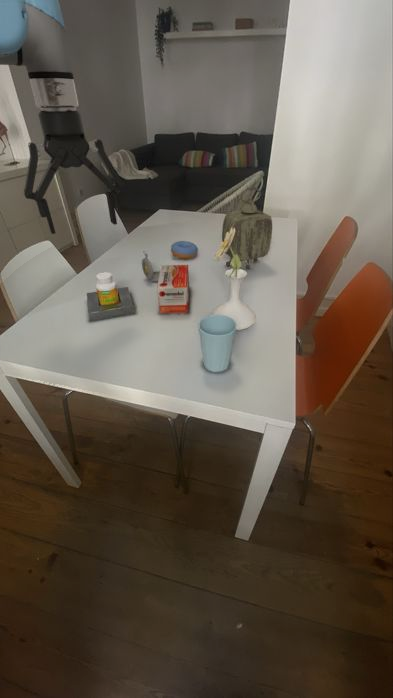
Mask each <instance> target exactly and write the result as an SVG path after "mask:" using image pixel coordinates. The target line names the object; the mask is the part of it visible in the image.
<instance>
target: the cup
mask: <svg viewBox="0 0 393 698" xmlns="http://www.w3.org/2000/svg"><path fill="white" fill-rule="evenodd" d="M236 327H237V324H236V322H235V321H234V320H233V319H232V318H230V317H228V316H225V315H212V314H209V315H207V316H204V317H203V318H201V319H200V320H199V321H198V324H197V328H198V334H199V340H200V348H201V354H202V355H201V356H202V361H203V366H204V368H205V369H206V370H207V371H210V372H212V373H213V372H214V373H220V372H224V371H226V370H227V369H228V367H229V365H230V360H231V356H232V352H233V351H232V350H233V347H234V341H235V336H236V332H237V331H236Z"/></svg>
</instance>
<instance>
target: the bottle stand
mask: <svg viewBox="0 0 393 698" xmlns="http://www.w3.org/2000/svg"><path fill="white" fill-rule="evenodd" d="M117 291H118V296H119V302H120V303H114V304H108V305H102V306H100V302H99V297H98V293H97V291H89V292H86V299H87V314H88V317H89V321H90V322H93V321H101V320H105V319H111V318H117V317H123V316H128V315H134V314H135V307H134V303H133V300H132V297H131V294H130V290H129V287H128V286H123V287H117Z"/></svg>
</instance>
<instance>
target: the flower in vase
mask: <svg viewBox="0 0 393 698" xmlns="http://www.w3.org/2000/svg"><path fill="white" fill-rule="evenodd" d="M228 234H229V235H228ZM234 234H235V228H234V229H233V230H232V227H231V229H230V232H229V233H228V232H227V233H226V236H225V239H224V242H222V241H221V242H220V243H219V249H218V250H217V252H215V255H214V257H215V258H214V261H216V262H219V261H220V260H221V259H223V257H224V256H225V255H226V252H227V250H228V249H229V248H230V250H231V252H232V255H233V258H232V260H231V262H230V265H231V266H232V267H233V268H230V269H227V270H226V271H225V275H226V277H227V279H228V281H229V287H230V289H229V290H230V291H229V293H230V294H229V298H228V300H226V301H225V302H223V303H220V304H219V305H218V306H217V307H216V308H214V309H213V311H212V313H211V315H225V316H228V317H230V318H232V319H233V320H234V321H235V322H236V324H237V327H236V332H237V331H243V330H246V329H248V328H250V327H252V326H253V325H254V323H255V322H256V314H255V312H254V310H253V309H252V308H251V307H250V306H249V305H247V304H245V303H244V302H242V301H241V299H240V291H241V286H242V282H243V280H244V279H245V277H246V276H247V274H248V272H247V271H246V270H245V269H241V267H242V265H243V263H242V261H240V259H239V257H238V255H237V254H236V255H234V253H233V250H232V248H231V247H230V244H231V242H232V240H233V237H234Z"/></svg>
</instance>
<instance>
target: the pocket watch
mask: <svg viewBox="0 0 393 698" xmlns="http://www.w3.org/2000/svg"><path fill="white" fill-rule="evenodd" d="M142 252H143V255H144V258H142V260H141V266H142V267H141V269H142V271H143V274H144V276H145V278H146V279H147V280H149V281H151V282H156V283H158V280H159V275H160V270H158V271H154V269H153V265H152V263H151V261H150V259H149V258H148V253H147V251H145V250H143V251H142Z"/></svg>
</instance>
